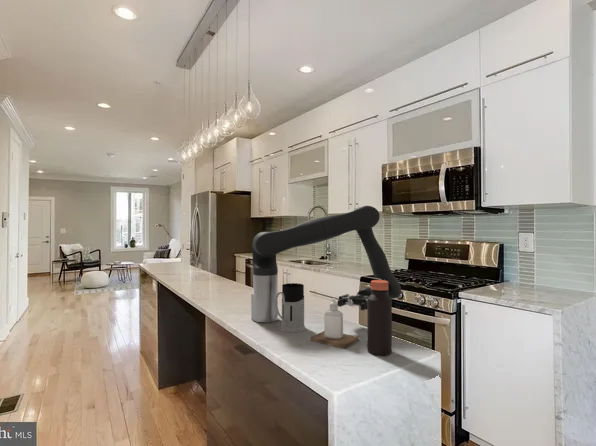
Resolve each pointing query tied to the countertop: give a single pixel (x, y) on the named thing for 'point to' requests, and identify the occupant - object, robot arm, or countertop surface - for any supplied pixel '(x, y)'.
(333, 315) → the eye dropper bottle
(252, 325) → the countertop surface
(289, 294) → the glass holder
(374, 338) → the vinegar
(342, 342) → the walnut board
